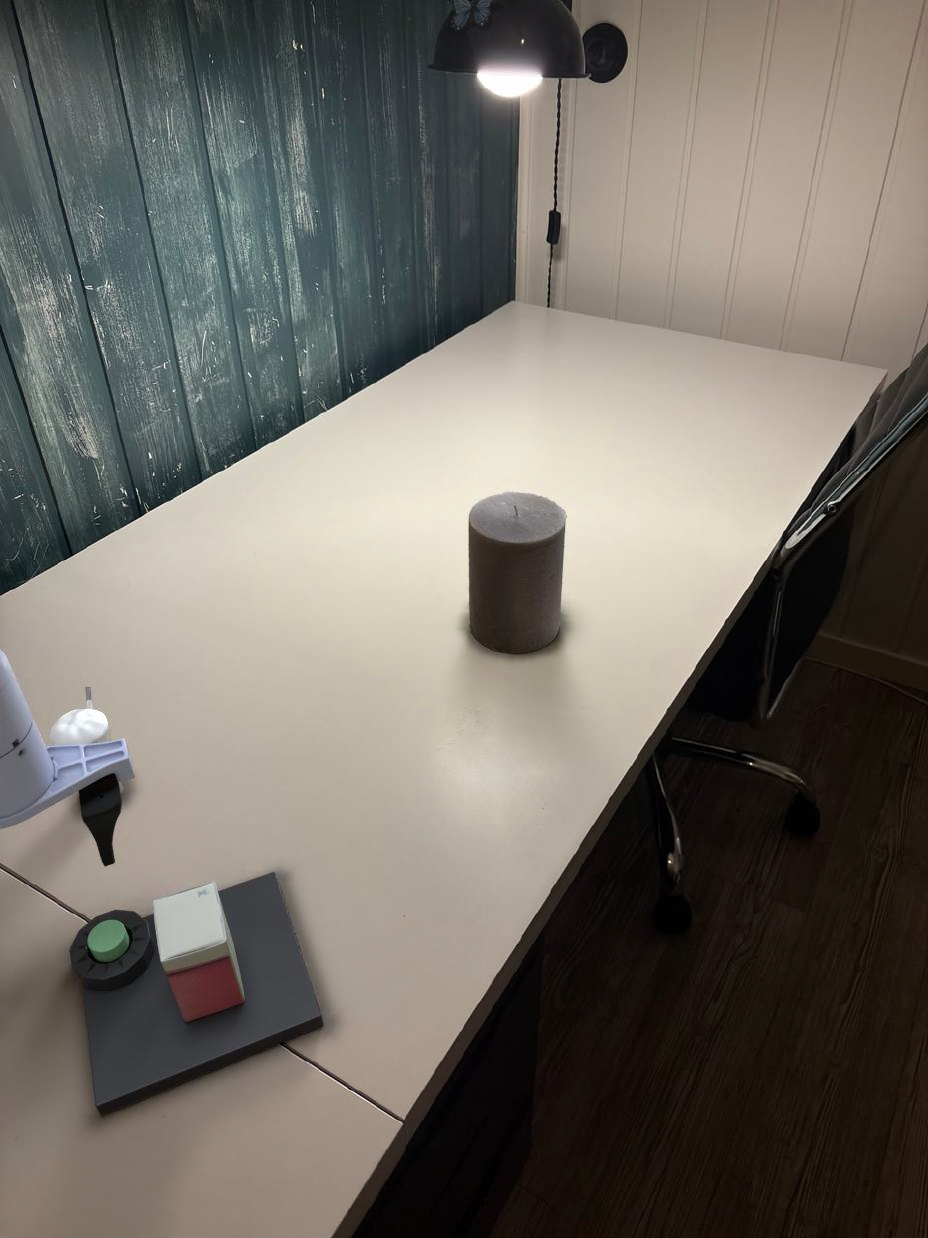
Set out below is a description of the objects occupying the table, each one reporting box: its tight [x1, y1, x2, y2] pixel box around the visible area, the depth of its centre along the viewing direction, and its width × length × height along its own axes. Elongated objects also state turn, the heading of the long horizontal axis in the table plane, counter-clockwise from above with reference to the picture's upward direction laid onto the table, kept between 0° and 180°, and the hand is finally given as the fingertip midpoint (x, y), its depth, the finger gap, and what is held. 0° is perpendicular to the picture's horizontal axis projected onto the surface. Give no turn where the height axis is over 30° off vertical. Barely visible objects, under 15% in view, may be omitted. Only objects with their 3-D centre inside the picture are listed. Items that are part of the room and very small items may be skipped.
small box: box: [152, 881, 245, 1022], centre depth 63 cm, size 5×4×8 cm
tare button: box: [88, 920, 130, 962], centre depth 66 cm, size 3×3×1 cm
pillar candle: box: [467, 490, 568, 654], centre depth 94 cm, size 10×10×15 cm
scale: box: [68, 871, 324, 1116], centre depth 65 cm, size 15×13×3 cm
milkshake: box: [48, 686, 124, 795], centre depth 78 cm, size 5×5×10 cm
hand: (50, 873), depth 62 cm, fingers open, 7 cm apart
